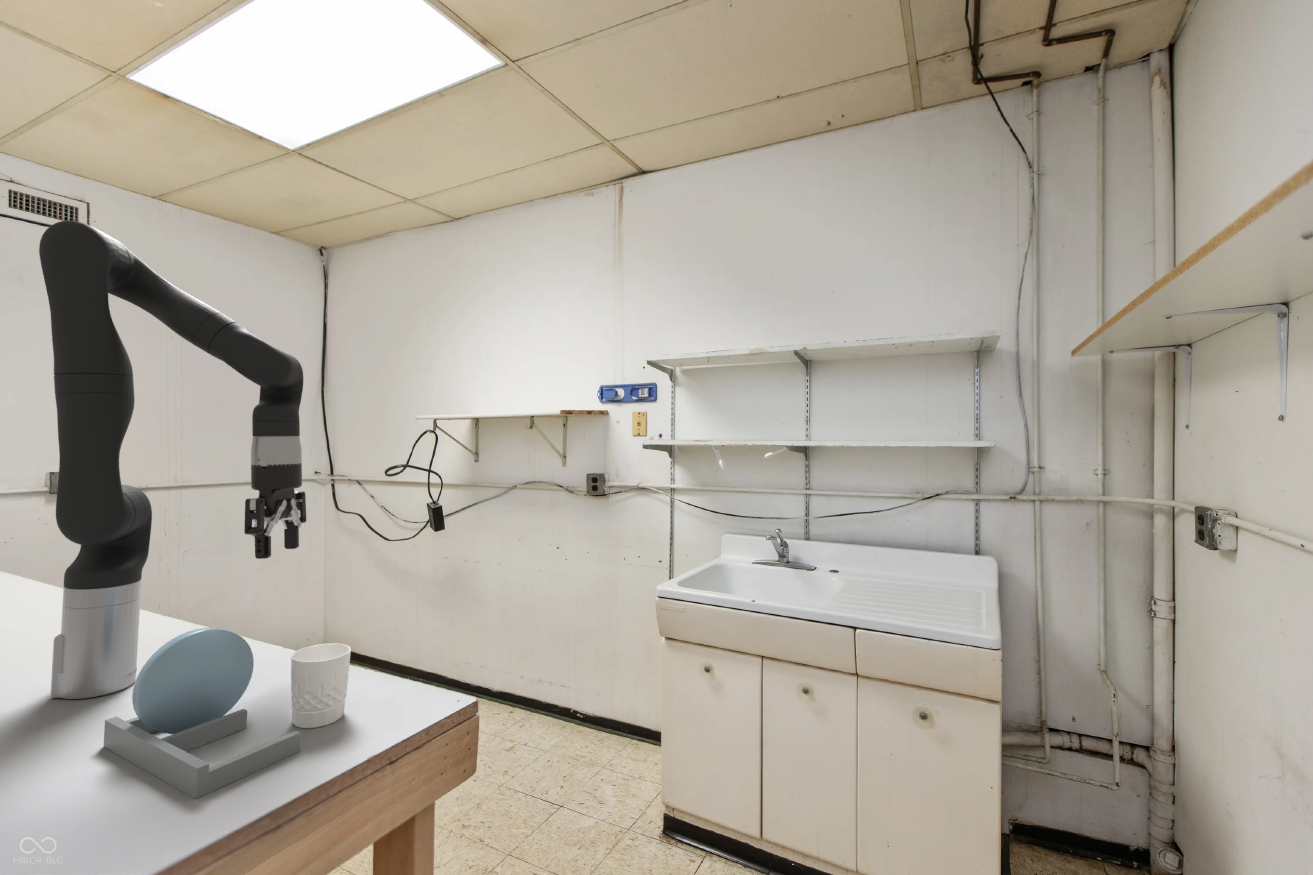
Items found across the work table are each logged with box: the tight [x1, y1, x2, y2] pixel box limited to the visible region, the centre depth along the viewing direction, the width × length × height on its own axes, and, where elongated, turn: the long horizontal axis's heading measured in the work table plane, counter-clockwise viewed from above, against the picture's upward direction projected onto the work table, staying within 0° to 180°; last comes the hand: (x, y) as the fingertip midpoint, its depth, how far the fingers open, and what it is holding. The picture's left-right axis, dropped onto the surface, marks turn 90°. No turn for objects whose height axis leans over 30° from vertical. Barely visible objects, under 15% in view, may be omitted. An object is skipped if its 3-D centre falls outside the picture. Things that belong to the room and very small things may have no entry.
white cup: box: [290, 642, 352, 729], centre depth 86 cm, size 8×8×10 cm
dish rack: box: [103, 627, 302, 799], centre depth 78 cm, size 15×23×14 cm, turn 64°
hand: (278, 553), depth 101 cm, fingers open, 8 cm apart
